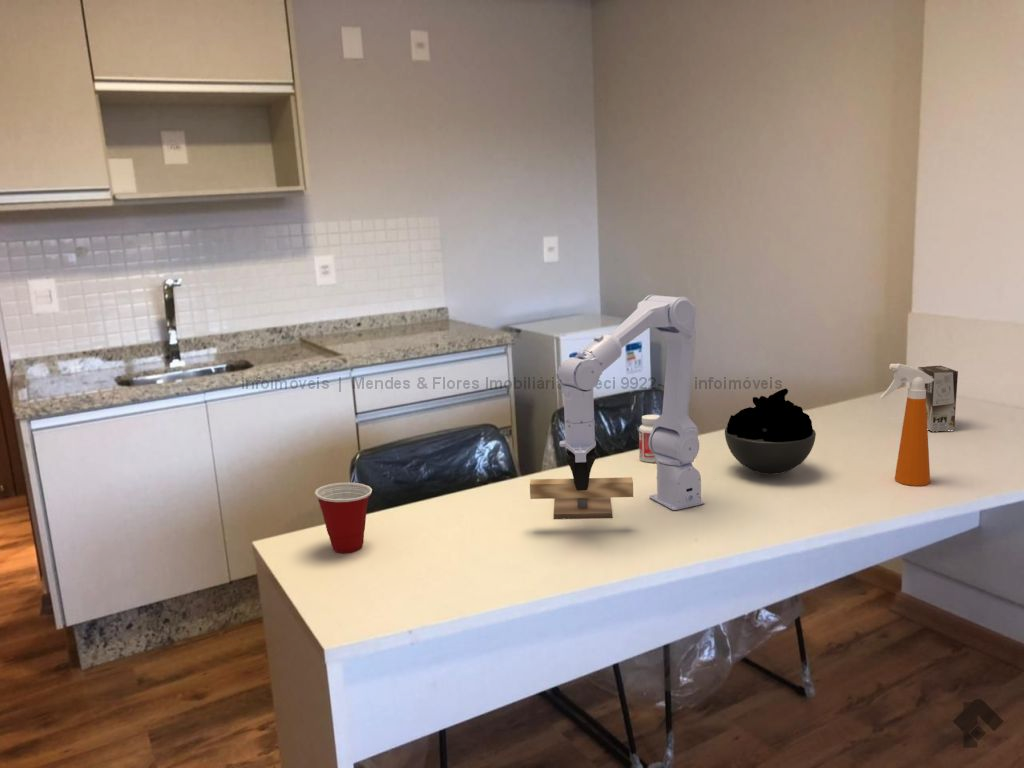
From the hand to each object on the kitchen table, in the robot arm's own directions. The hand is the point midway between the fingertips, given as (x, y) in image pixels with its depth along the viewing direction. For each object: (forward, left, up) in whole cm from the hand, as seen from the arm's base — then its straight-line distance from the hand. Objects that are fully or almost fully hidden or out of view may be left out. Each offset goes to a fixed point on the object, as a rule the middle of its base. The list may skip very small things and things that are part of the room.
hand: (581, 486), depth 161 cm
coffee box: (+14, -115, -9) cm, 116 cm away
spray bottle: (-12, -74, -9) cm, 75 cm away
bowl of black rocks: (+8, -54, -9) cm, 55 cm away
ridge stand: (+12, -7, -9) cm, 17 cm away
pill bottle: (+31, -37, -9) cm, 49 cm away
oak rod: (0, 0, -2) cm, 2 cm away
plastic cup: (+15, +43, -9) cm, 47 cm away
